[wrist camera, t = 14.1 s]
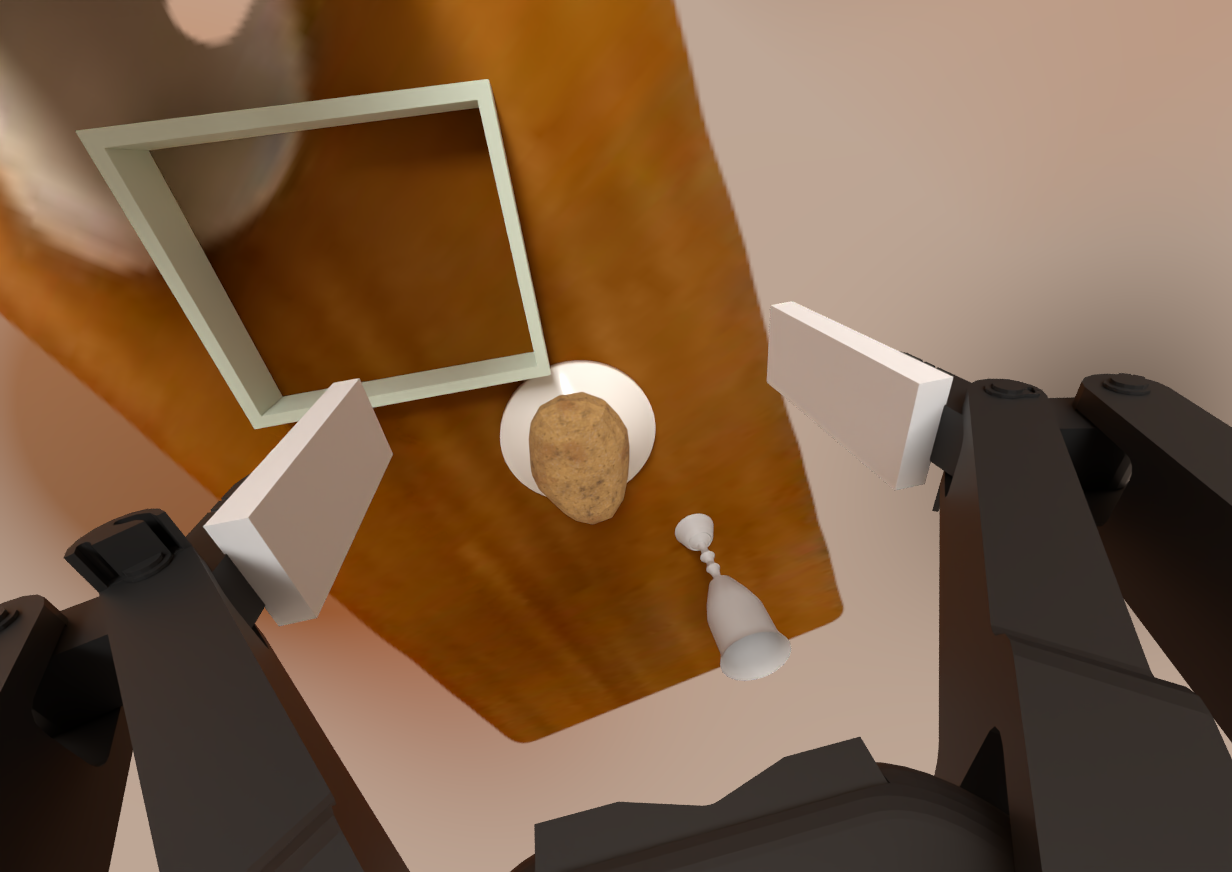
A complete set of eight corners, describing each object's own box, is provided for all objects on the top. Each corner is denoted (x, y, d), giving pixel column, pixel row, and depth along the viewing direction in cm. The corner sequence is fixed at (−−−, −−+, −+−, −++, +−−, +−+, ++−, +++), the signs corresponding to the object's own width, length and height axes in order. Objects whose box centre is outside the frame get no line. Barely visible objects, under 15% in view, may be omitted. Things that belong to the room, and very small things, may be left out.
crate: (123, 135, 31) (74, 130, 28) (491, 88, 34) (488, 78, 30) (276, 408, 42) (254, 429, 39) (548, 359, 44) (550, 374, 41)
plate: (481, 376, 44) (481, 381, 43) (645, 346, 45) (648, 350, 44) (520, 507, 52) (520, 513, 51) (658, 478, 54) (660, 484, 52)
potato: (550, 502, 51) (554, 552, 44) (508, 389, 44) (505, 428, 37) (635, 478, 51) (652, 524, 45) (607, 362, 44) (623, 396, 37)
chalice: (731, 527, 59) (804, 651, 44) (691, 558, 61) (748, 689, 45) (697, 497, 56) (764, 620, 41) (656, 531, 57) (705, 663, 42)
